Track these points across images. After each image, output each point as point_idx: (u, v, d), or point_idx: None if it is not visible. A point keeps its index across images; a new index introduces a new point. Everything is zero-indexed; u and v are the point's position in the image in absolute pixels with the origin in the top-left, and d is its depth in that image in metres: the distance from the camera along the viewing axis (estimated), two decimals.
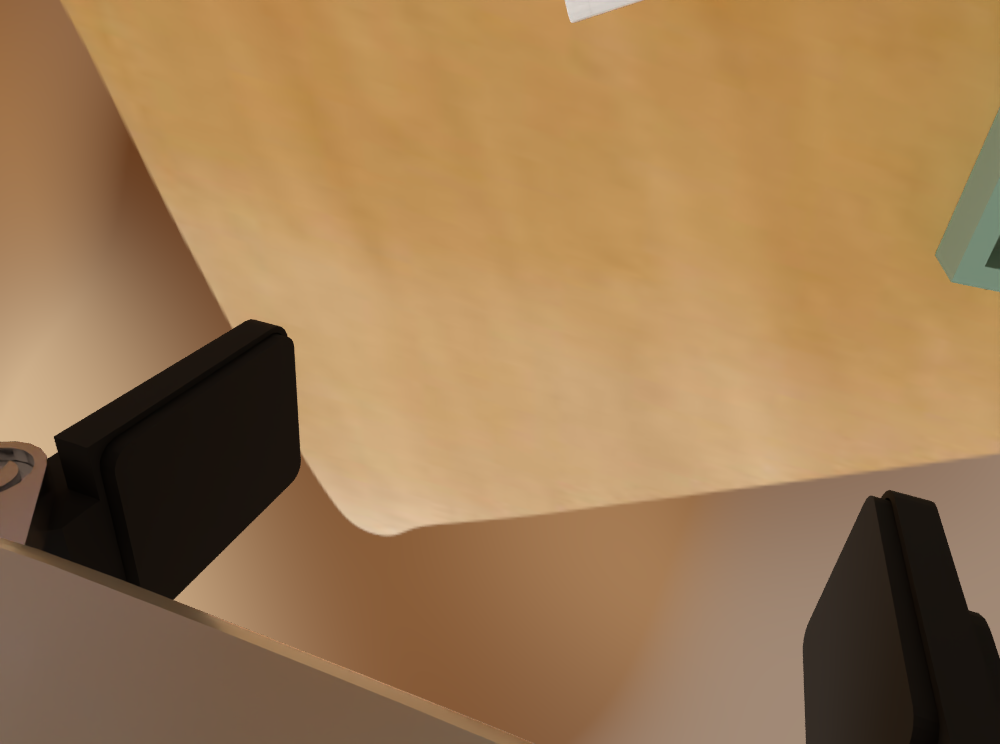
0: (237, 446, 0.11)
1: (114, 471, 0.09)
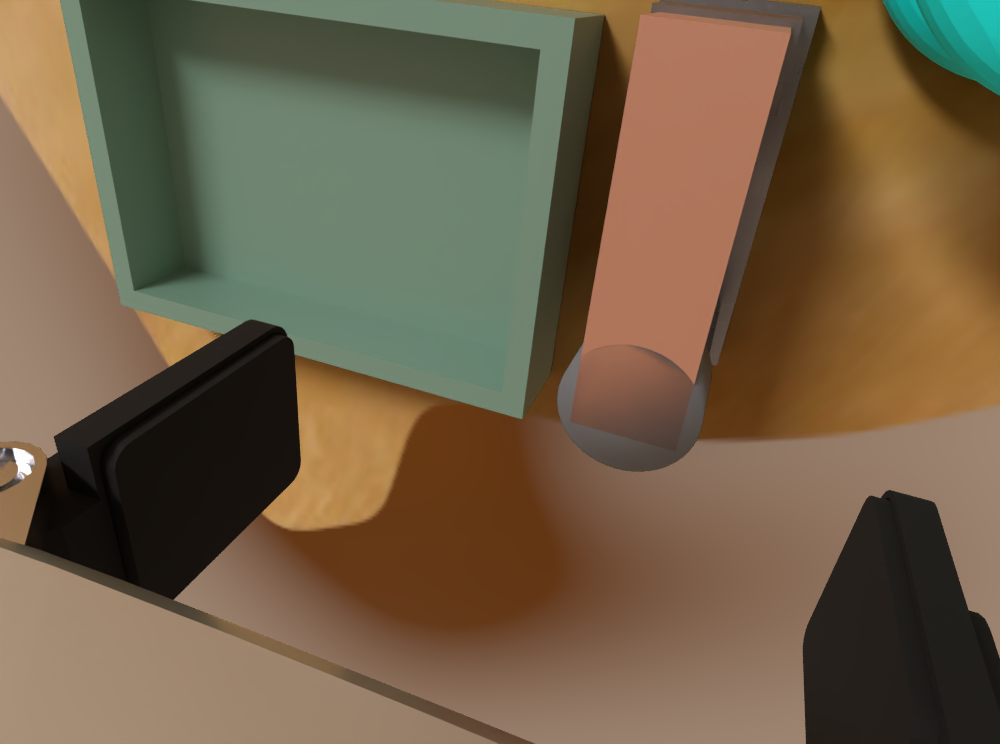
0: (237, 446, 0.11)
1: (114, 471, 0.09)
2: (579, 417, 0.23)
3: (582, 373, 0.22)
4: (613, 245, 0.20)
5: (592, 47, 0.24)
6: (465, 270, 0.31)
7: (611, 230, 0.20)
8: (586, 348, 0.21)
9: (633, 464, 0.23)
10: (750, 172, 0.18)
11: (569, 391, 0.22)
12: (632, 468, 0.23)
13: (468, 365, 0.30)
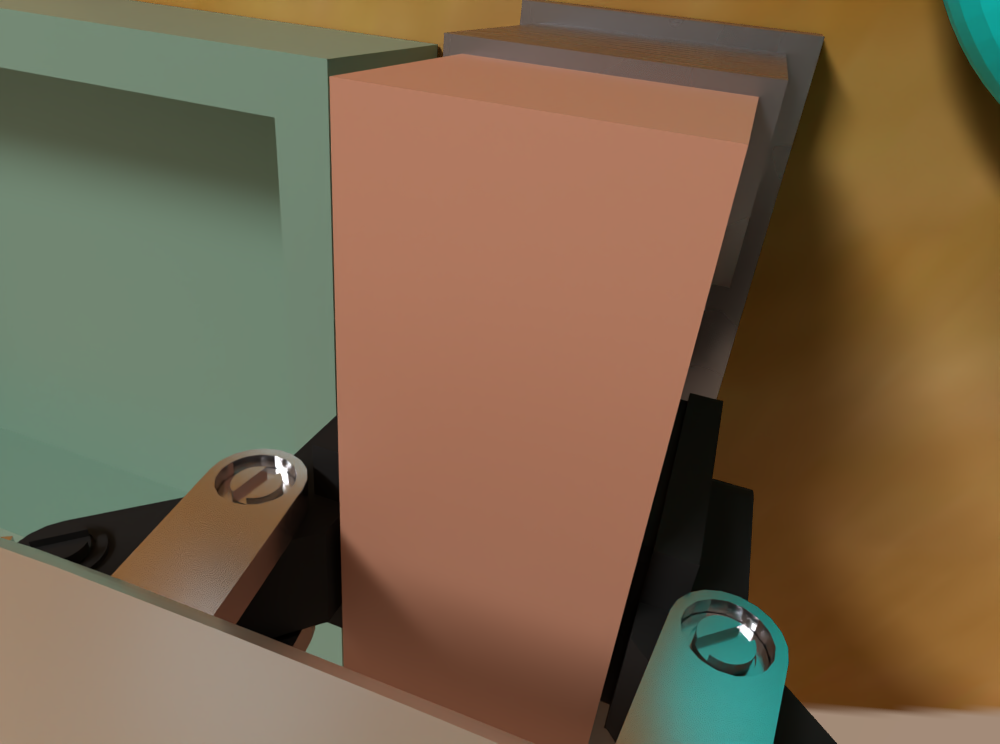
0: None
1: None
2: None
3: None
4: (367, 574, 0.09)
5: None
6: (268, 432, 0.20)
7: (357, 548, 0.09)
8: None
9: None
10: (651, 484, 0.07)
11: None
12: None
13: None
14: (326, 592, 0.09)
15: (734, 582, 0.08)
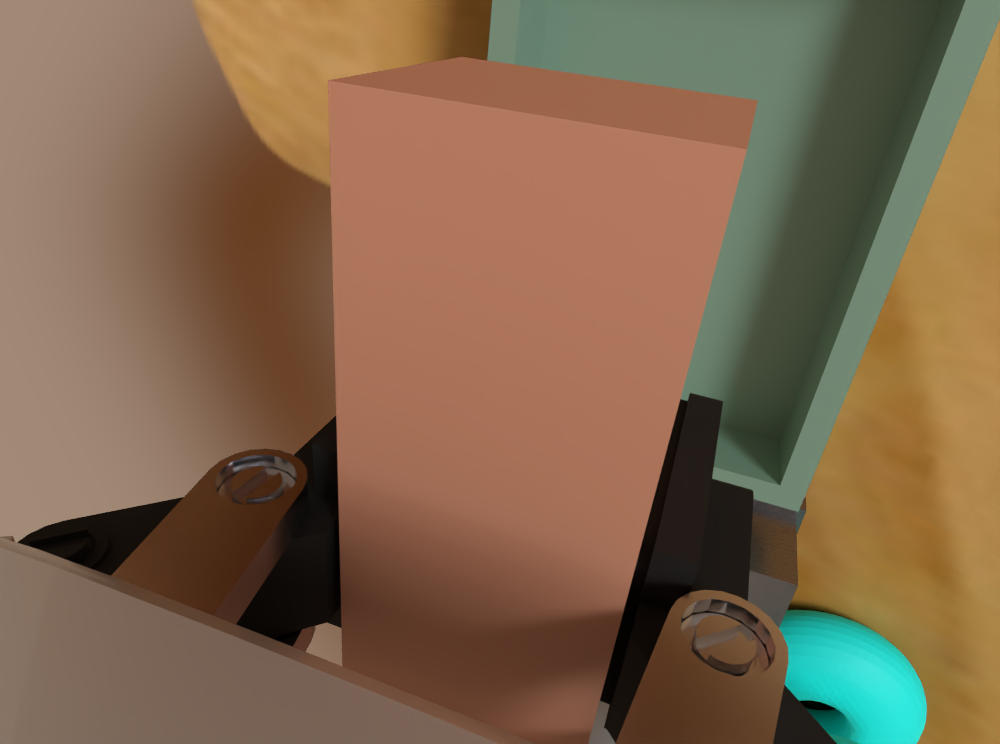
0: None
1: None
2: None
3: None
4: (365, 578, 0.09)
5: None
6: None
7: (356, 551, 0.09)
8: None
9: None
10: (650, 488, 0.07)
11: None
12: None
13: None
14: (326, 592, 0.09)
15: (734, 582, 0.08)
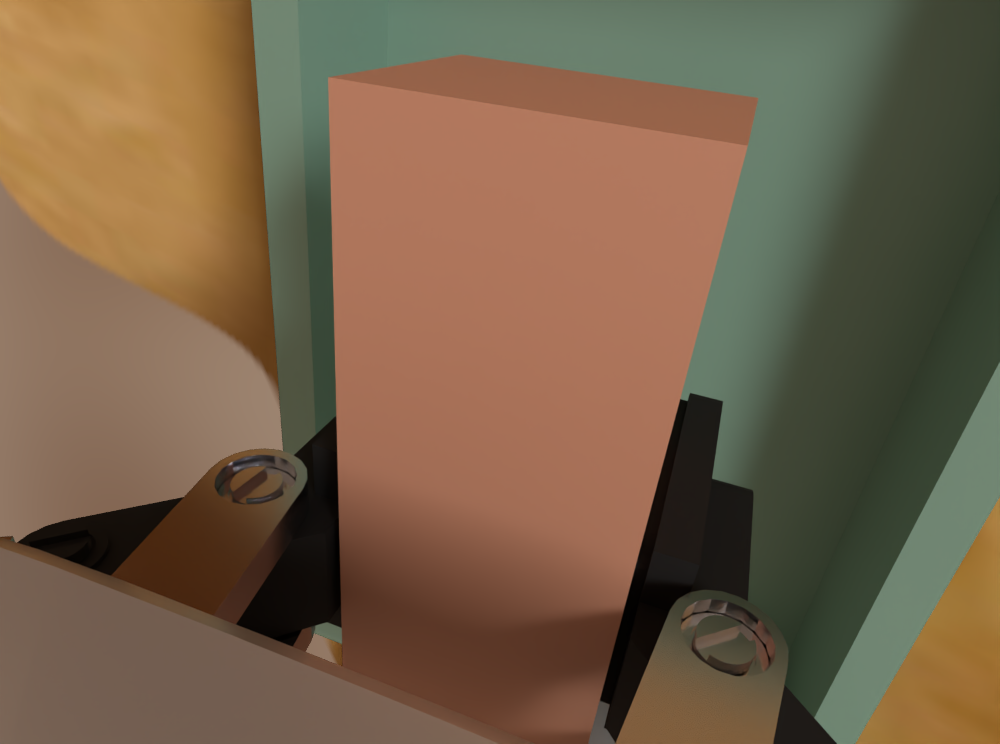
0: None
1: None
2: None
3: None
4: (366, 575, 0.09)
5: None
6: None
7: (356, 549, 0.09)
8: None
9: None
10: (651, 485, 0.07)
11: None
12: None
13: None
14: (326, 592, 0.09)
15: (735, 582, 0.08)
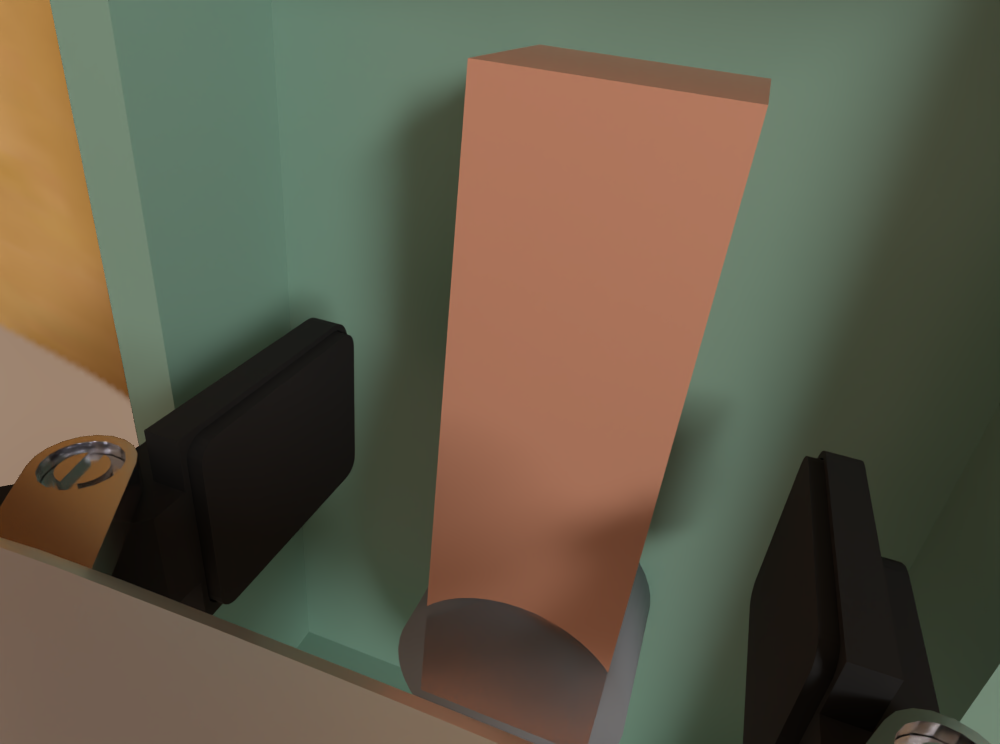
0: (303, 441, 0.11)
1: (200, 464, 0.09)
2: (434, 686, 0.14)
3: (432, 629, 0.13)
4: (460, 453, 0.11)
5: None
6: (422, 587, 0.17)
7: (453, 430, 0.11)
8: (433, 597, 0.13)
9: None
10: (691, 361, 0.09)
11: (414, 650, 0.14)
12: None
13: None
14: (163, 580, 0.09)
15: (918, 685, 0.07)
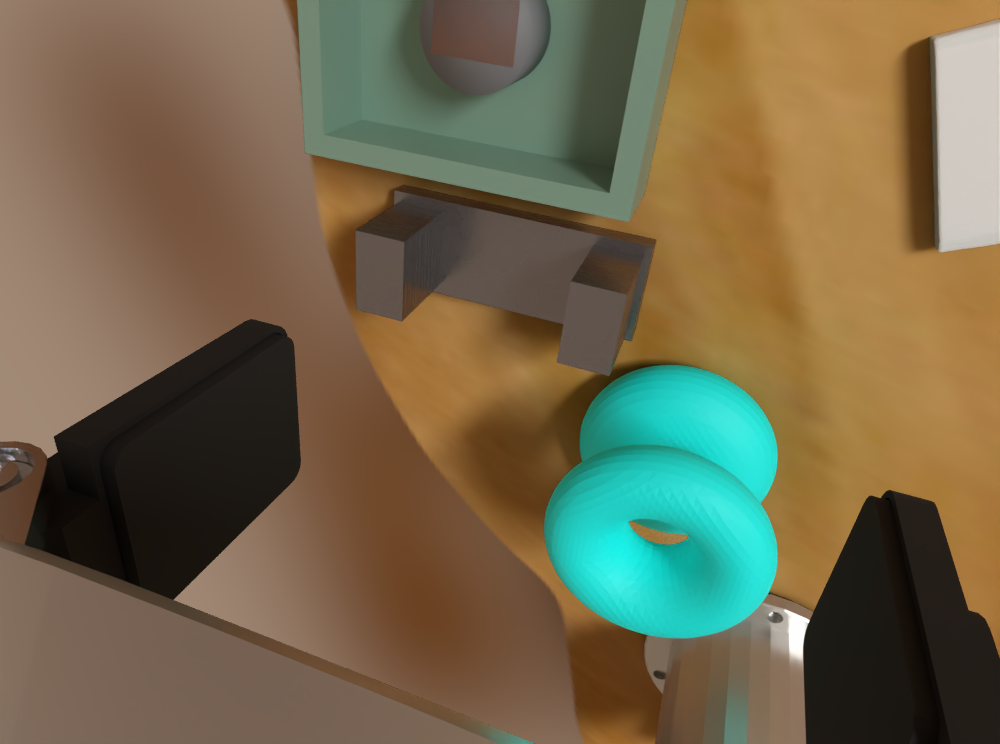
0: (237, 446, 0.11)
1: (114, 471, 0.09)
2: (438, 47, 0.28)
3: (437, 0, 0.27)
4: None
5: None
6: None
7: None
8: None
9: (482, 87, 0.28)
10: None
11: (428, 21, 0.28)
12: (482, 92, 0.28)
13: (338, 80, 0.31)
14: None
15: None
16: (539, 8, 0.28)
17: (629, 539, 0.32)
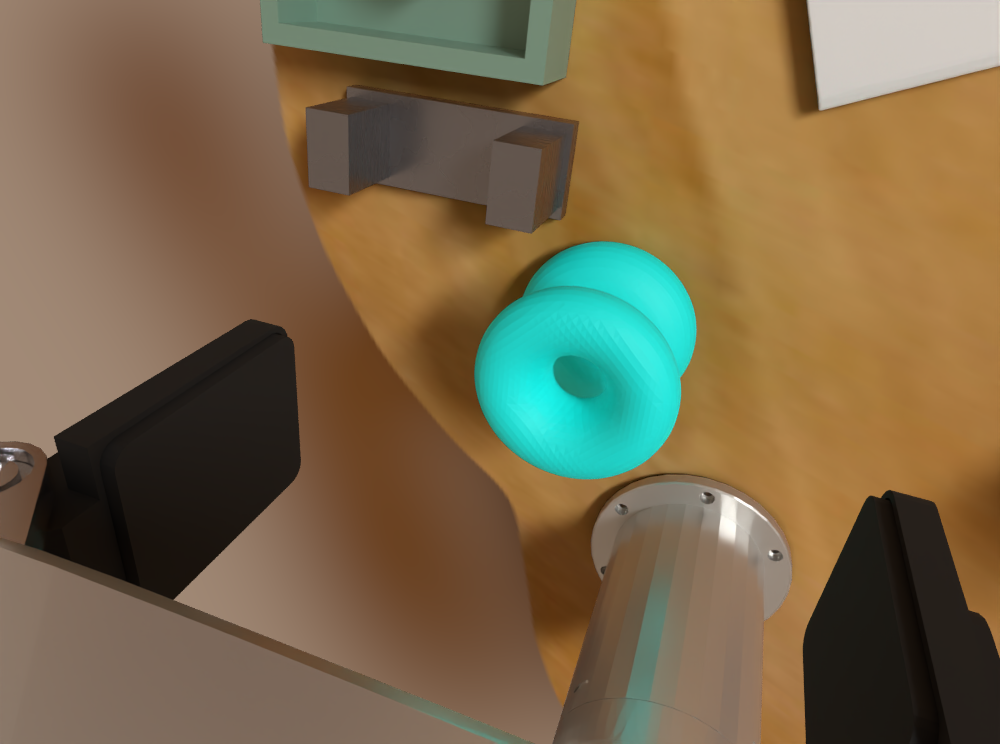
0: (237, 446, 0.11)
1: (114, 471, 0.09)
2: None
3: None
4: None
5: None
6: None
7: None
8: None
9: None
10: None
11: None
12: None
13: None
14: None
15: None
16: None
17: (553, 389, 0.35)
